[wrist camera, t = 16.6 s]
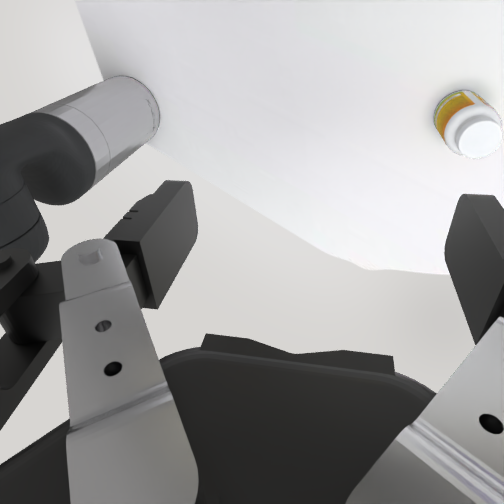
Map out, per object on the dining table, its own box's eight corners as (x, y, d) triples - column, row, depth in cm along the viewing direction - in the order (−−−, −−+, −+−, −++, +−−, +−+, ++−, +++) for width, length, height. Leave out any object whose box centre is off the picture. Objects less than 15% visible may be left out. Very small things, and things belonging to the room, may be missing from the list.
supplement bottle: (427, 133, 47) (443, 163, 40) (440, 88, 44) (460, 111, 36) (473, 137, 47) (498, 168, 39) (490, 90, 43) (521, 115, 36)
